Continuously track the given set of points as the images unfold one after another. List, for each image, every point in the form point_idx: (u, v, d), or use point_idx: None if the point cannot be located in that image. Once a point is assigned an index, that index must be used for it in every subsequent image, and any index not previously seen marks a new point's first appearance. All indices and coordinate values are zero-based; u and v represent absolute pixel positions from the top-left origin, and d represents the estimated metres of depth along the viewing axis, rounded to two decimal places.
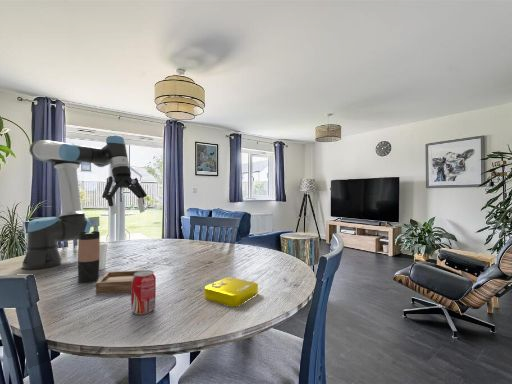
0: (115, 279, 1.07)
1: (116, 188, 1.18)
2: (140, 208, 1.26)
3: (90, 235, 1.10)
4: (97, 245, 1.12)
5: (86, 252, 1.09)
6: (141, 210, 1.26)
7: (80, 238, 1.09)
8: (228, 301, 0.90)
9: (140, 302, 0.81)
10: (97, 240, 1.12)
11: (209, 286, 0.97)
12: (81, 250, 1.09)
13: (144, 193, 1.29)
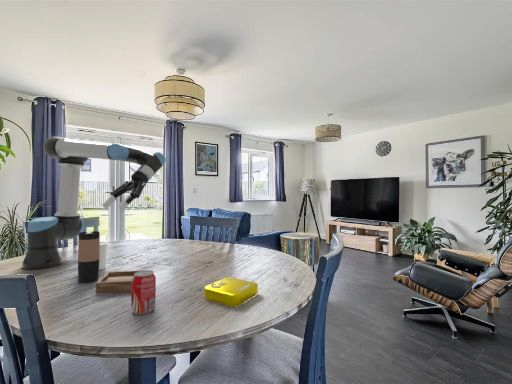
0: (115, 279, 1.07)
1: None
2: (106, 203, 1.25)
3: (90, 235, 1.10)
4: (97, 245, 1.12)
5: (86, 252, 1.09)
6: (105, 206, 1.25)
7: (80, 238, 1.09)
8: (228, 301, 0.90)
9: (140, 302, 0.81)
10: (97, 240, 1.12)
11: (209, 286, 0.96)
12: (81, 250, 1.09)
13: (116, 195, 1.32)
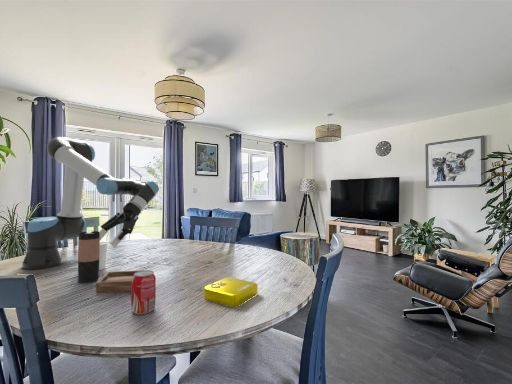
0: (115, 279, 1.07)
1: None
2: None
3: (90, 235, 1.10)
4: (97, 245, 1.12)
5: (86, 252, 1.09)
6: None
7: (80, 238, 1.09)
8: (228, 301, 0.90)
9: (140, 302, 0.81)
10: (97, 240, 1.12)
11: (209, 286, 0.96)
12: (81, 250, 1.09)
13: None
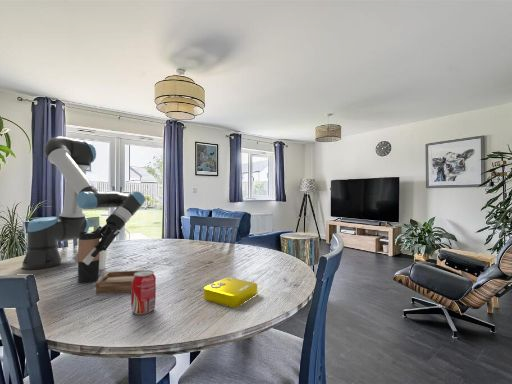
0: (115, 279, 1.07)
1: None
2: (77, 256, 1.12)
3: (90, 235, 1.10)
4: None
5: (86, 252, 1.09)
6: (76, 258, 1.12)
7: (80, 238, 1.09)
8: (227, 301, 0.89)
9: (140, 302, 0.81)
10: (97, 240, 1.12)
11: (208, 286, 0.96)
12: (81, 250, 1.09)
13: None
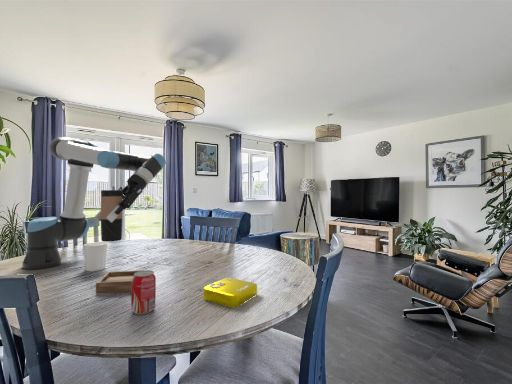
0: (115, 279, 1.07)
1: None
2: (100, 215, 1.08)
3: (113, 192, 1.06)
4: None
5: (110, 210, 1.05)
6: (99, 217, 1.08)
7: (103, 195, 1.05)
8: (227, 301, 0.89)
9: (140, 302, 0.81)
10: (120, 198, 1.08)
11: (208, 287, 0.96)
12: (105, 207, 1.05)
13: None
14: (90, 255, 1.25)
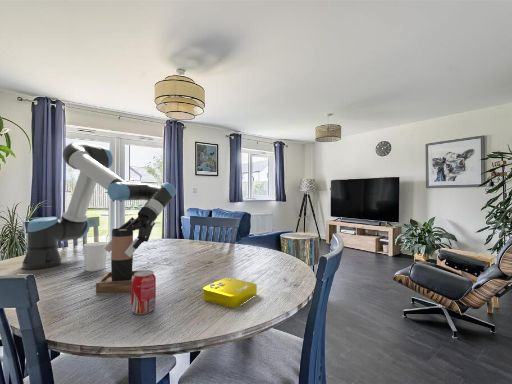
0: None
1: None
2: (109, 246, 1.09)
3: (124, 232, 1.04)
4: (131, 242, 1.06)
5: (121, 250, 1.03)
6: (108, 249, 1.08)
7: (114, 235, 1.03)
8: (227, 302, 0.89)
9: (140, 302, 0.81)
10: (131, 237, 1.06)
11: (207, 287, 0.96)
12: (116, 248, 1.03)
13: None
14: (90, 255, 1.25)
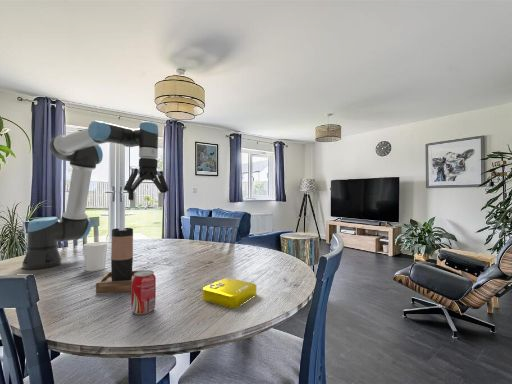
0: None
1: (139, 182, 1.12)
2: (159, 203, 1.23)
3: (124, 232, 1.04)
4: (131, 242, 1.06)
5: (121, 250, 1.03)
6: (160, 205, 1.22)
7: (114, 235, 1.03)
8: (227, 302, 0.89)
9: (140, 302, 0.81)
10: (131, 237, 1.06)
11: (207, 287, 0.96)
12: (116, 248, 1.03)
13: (166, 188, 1.24)
14: (90, 255, 1.25)
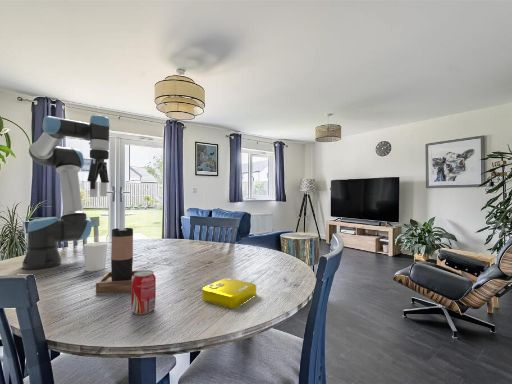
0: None
1: None
2: None
3: (124, 232, 1.04)
4: (131, 242, 1.06)
5: (121, 250, 1.03)
6: None
7: (114, 235, 1.03)
8: (226, 302, 0.89)
9: (140, 302, 0.81)
10: (131, 237, 1.06)
11: (207, 287, 0.95)
12: (116, 248, 1.03)
13: None
14: (90, 255, 1.25)
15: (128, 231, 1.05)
